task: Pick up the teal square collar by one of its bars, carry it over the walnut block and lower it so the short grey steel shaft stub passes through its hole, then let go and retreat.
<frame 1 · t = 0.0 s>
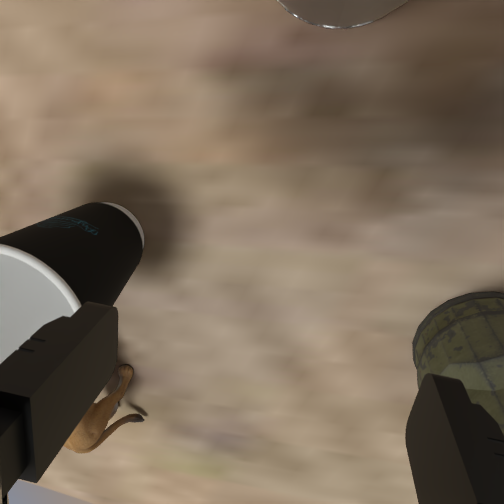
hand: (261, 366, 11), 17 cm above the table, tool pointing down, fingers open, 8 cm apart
thermos: (479, 345, 30), on the table
lion figurine: (90, 344, 35), on the table
dixie cup: (112, 234, 30), on the table
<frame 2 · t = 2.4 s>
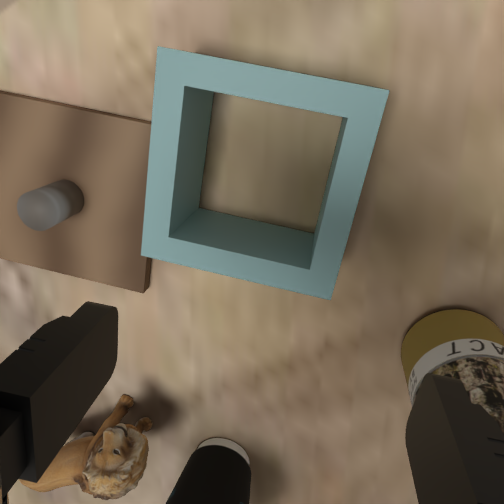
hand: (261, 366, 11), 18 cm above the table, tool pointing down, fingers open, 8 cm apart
lion figurine: (108, 410, 39), on the table
paper tube: (449, 346, 31), on the table
dixie cup: (223, 457, 38), on the table
collar: (266, 162, 28), on the table
shaft block: (75, 193, 31), on the table
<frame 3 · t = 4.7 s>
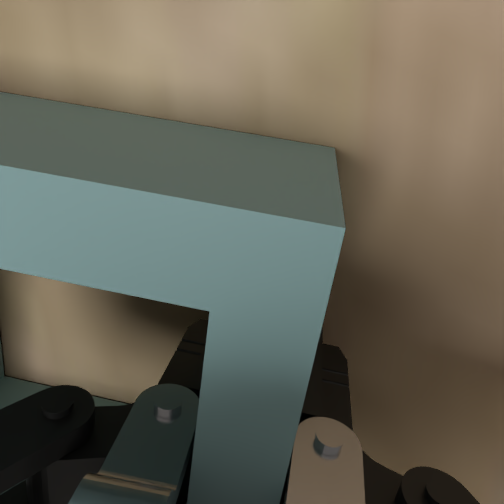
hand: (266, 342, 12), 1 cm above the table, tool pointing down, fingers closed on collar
collar: (115, 299, 13), on the table, touching gripper
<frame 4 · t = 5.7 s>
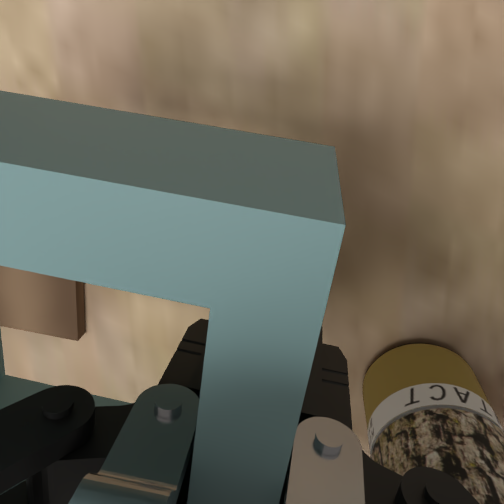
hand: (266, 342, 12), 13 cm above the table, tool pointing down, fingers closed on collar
paper tube: (415, 380, 28), on the table
collar: (116, 297, 13), point 12 cm above the table, touching gripper
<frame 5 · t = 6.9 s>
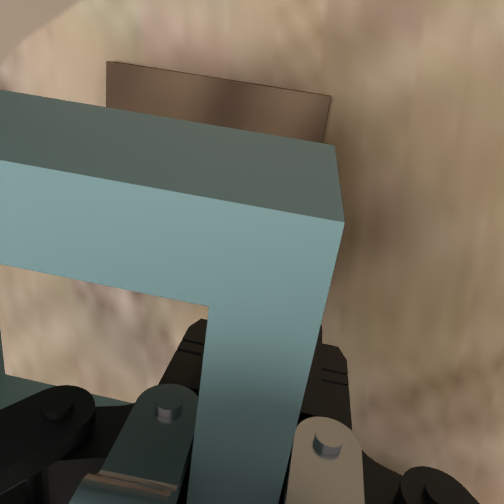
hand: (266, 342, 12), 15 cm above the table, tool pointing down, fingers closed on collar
collar: (116, 297, 13), point 14 cm above the table, touching gripper
shaft block: (209, 185, 26), on the table
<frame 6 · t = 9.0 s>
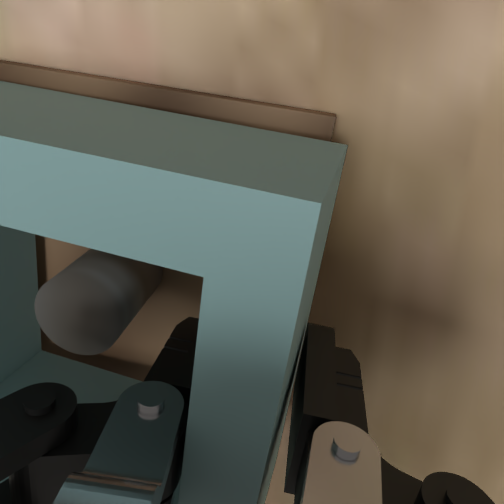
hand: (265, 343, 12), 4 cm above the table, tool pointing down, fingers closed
collar: (142, 282, 14), point 2 cm above the table, tilted 6°
shaft block: (139, 255, 16), on the table
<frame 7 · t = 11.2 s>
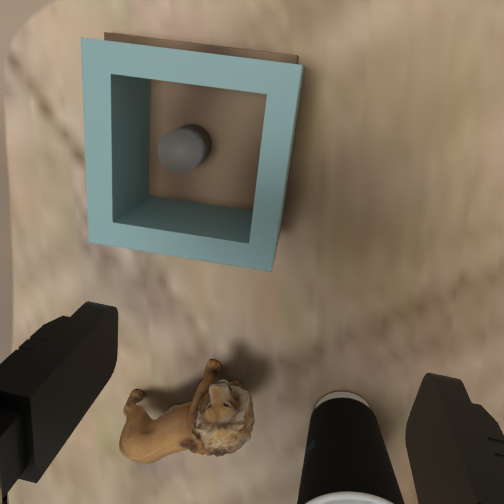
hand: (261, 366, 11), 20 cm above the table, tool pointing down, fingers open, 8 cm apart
lion figurine: (195, 379, 38), on the table
dixie cup: (342, 412, 37), on the table
collar: (208, 145, 29), point 1 cm above the table, touching shaft block
shaft block: (196, 141, 30), on the table
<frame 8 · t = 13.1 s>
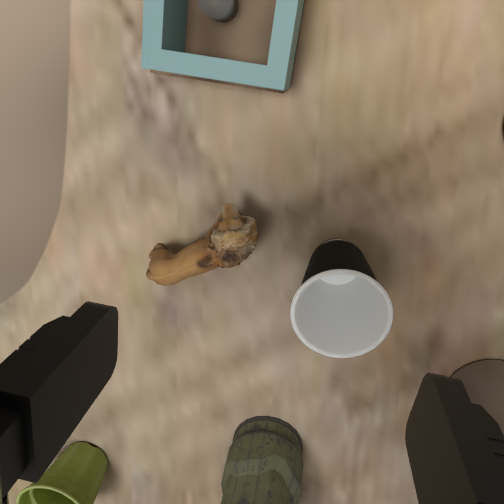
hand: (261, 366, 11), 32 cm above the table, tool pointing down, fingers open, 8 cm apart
thermos: (268, 442, 55), on the table
lion figurine: (209, 233, 46), on the table
dixie cup: (336, 260, 44), on the table
collar: (235, 7, 36), point 1 cm above the table, touching shaft block
shaft block: (225, 7, 37), on the table
plant pot: (88, 456, 61), on the table
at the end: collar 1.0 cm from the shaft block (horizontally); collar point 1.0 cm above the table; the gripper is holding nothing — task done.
